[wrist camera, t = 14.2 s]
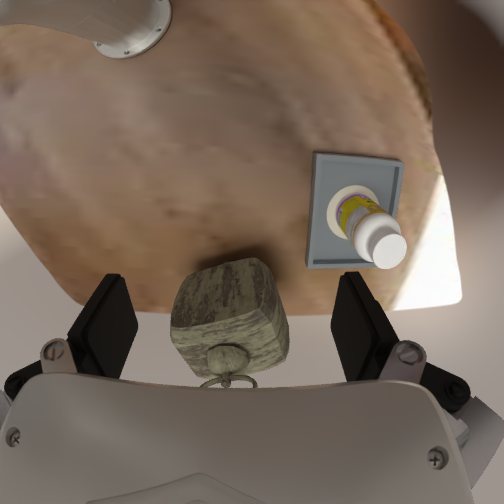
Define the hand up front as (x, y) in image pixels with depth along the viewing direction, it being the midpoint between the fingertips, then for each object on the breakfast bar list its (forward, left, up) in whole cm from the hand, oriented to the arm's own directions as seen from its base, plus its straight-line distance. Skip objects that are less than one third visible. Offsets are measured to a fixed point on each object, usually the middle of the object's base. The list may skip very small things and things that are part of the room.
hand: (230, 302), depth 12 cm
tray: (+7, +17, -30) cm, 35 cm away
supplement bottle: (+7, +17, -30) cm, 35 cm away
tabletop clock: (+18, -2, -31) cm, 35 cm away
